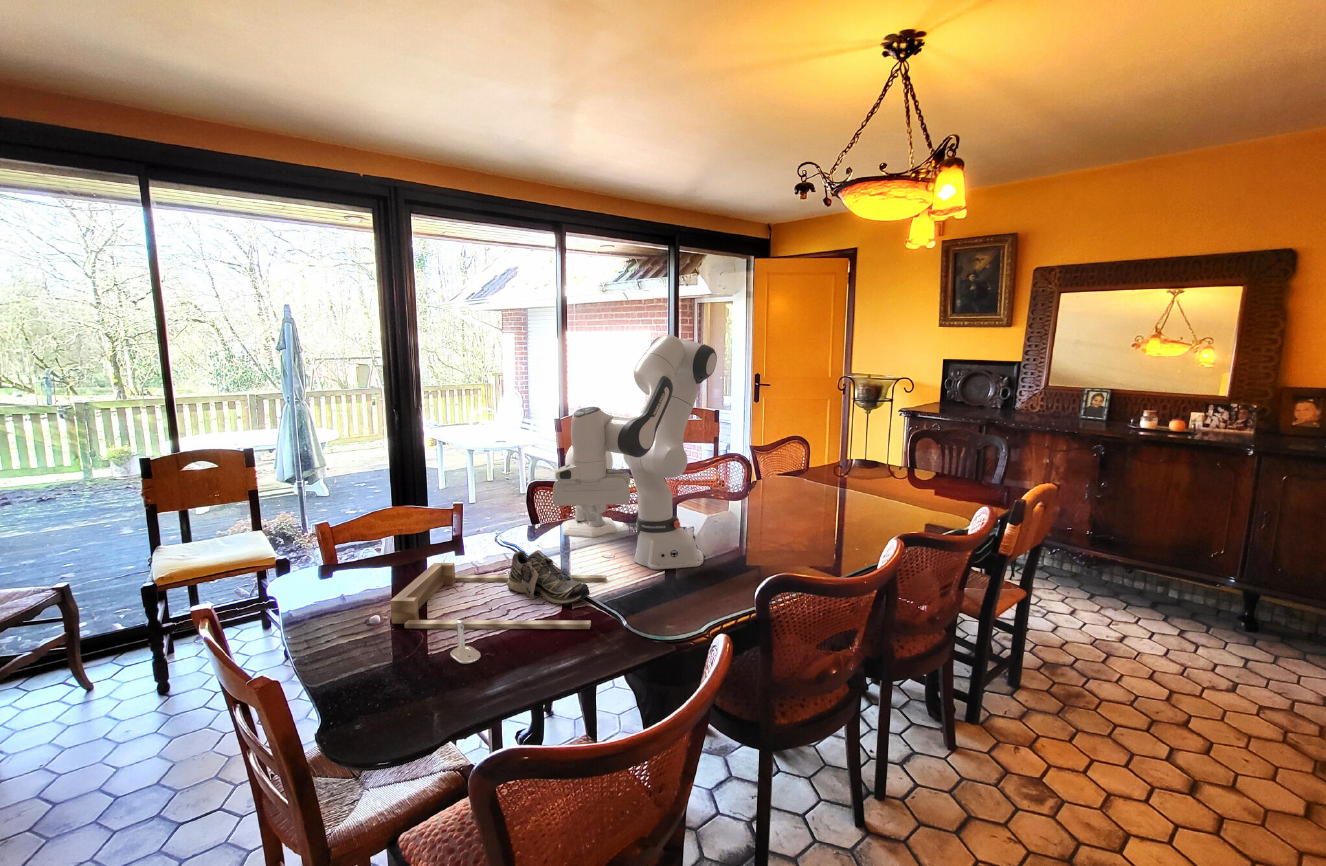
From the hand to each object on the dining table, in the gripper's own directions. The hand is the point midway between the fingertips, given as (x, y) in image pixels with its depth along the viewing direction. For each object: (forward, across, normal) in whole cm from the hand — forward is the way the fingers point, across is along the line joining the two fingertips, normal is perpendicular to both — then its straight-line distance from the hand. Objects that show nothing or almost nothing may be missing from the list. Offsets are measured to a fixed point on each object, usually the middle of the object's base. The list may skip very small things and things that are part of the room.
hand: (593, 520), depth 154 cm
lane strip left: (+22, +23, +15) cm, 35 cm away
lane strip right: (+22, +23, -14) cm, 35 cm away
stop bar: (+22, +47, +1) cm, 52 cm away
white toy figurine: (+24, +13, -64) cm, 69 cm away
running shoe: (+23, +15, -4) cm, 28 cm away
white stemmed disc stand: (+22, +26, +29) cm, 44 cm away
